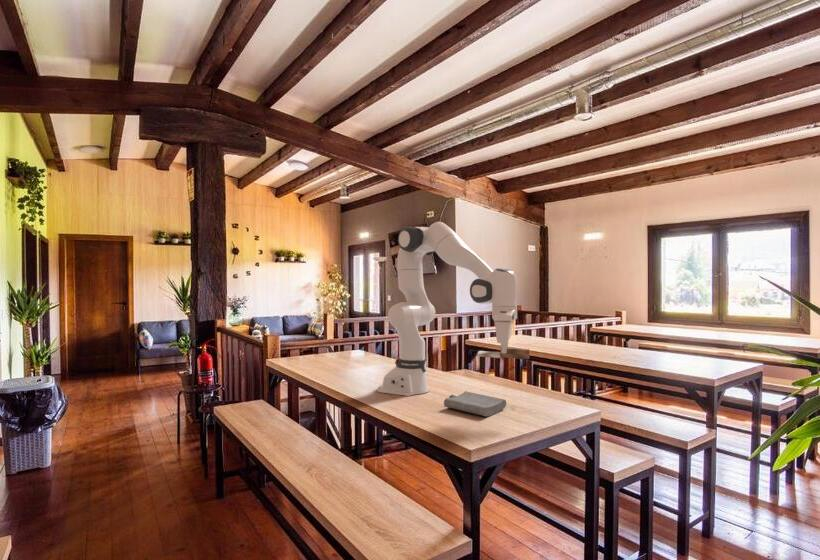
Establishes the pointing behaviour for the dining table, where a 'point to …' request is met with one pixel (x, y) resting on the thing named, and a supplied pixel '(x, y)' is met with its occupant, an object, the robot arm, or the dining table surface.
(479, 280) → the robot arm
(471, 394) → the hip flask
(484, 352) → the spatula
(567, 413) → the dining table surface
